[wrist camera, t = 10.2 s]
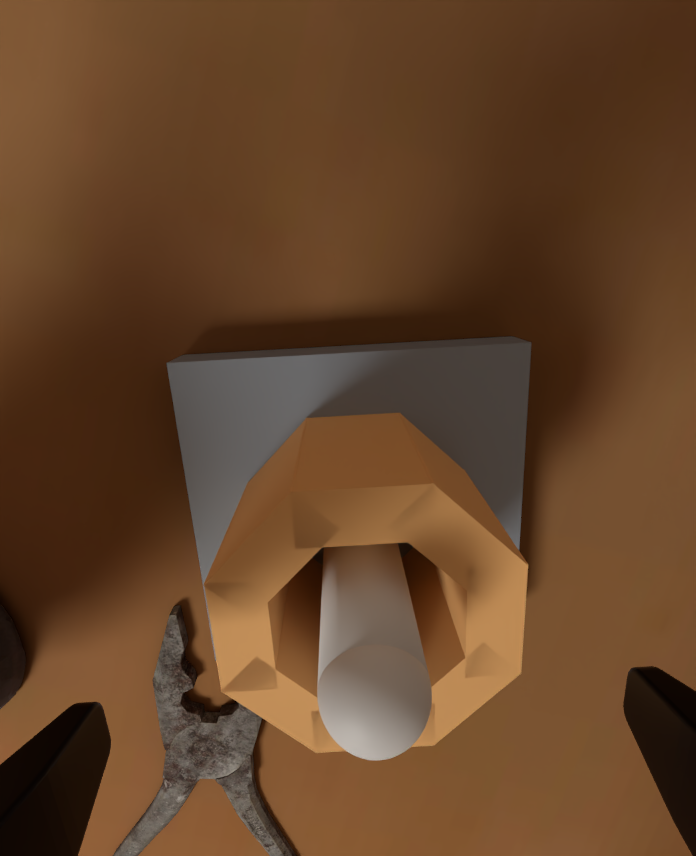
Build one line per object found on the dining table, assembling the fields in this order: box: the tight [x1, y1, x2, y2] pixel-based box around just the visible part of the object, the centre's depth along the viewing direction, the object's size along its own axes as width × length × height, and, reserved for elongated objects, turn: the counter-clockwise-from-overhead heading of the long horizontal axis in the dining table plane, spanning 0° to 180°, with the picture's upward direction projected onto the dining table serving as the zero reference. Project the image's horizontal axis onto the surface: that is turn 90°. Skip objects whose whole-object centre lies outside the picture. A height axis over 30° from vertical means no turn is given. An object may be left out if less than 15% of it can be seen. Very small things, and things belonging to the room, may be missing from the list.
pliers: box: [113, 605, 296, 856], centre depth 20 cm, size 10×1×20 cm
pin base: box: [167, 336, 531, 760], centre depth 12 cm, size 10×10×9 cm
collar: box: [203, 413, 529, 753], centre depth 12 cm, size 6×6×5 cm
